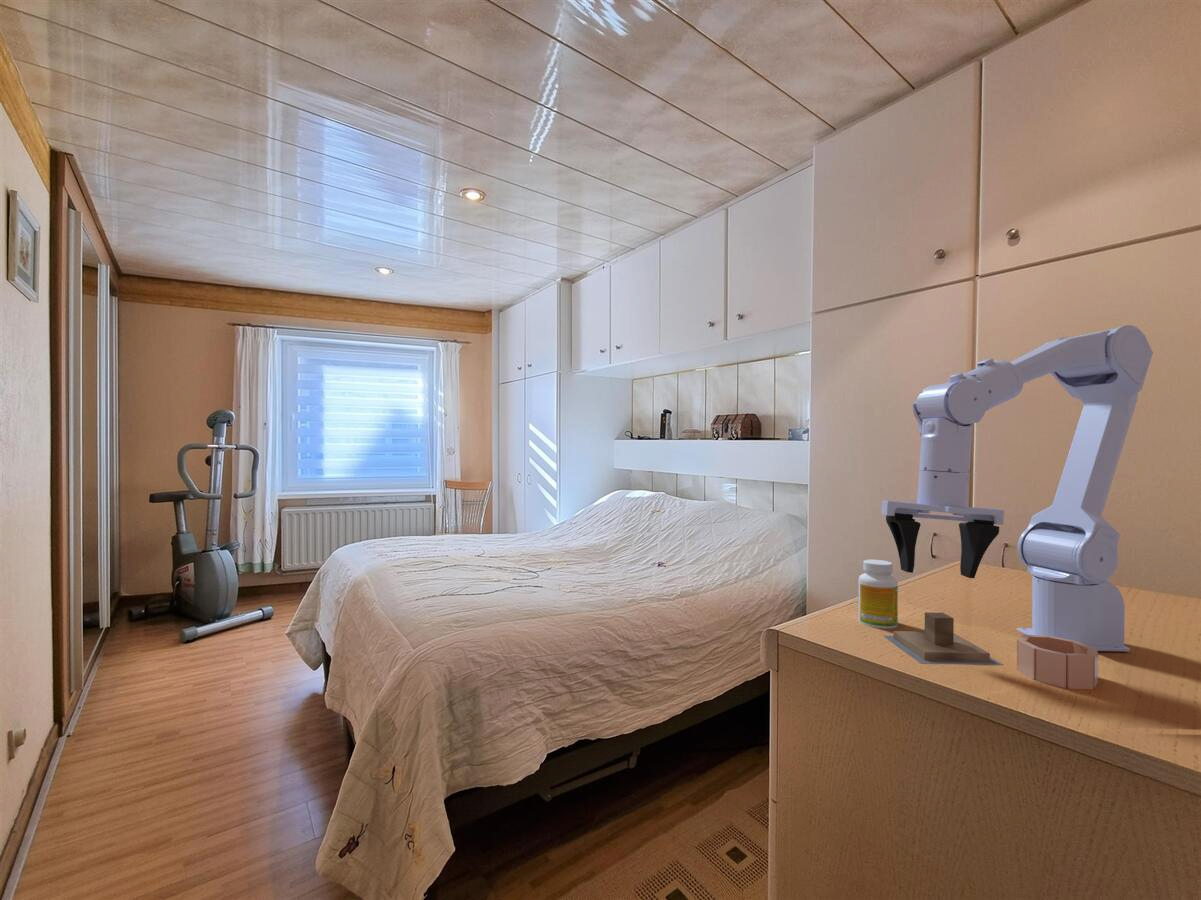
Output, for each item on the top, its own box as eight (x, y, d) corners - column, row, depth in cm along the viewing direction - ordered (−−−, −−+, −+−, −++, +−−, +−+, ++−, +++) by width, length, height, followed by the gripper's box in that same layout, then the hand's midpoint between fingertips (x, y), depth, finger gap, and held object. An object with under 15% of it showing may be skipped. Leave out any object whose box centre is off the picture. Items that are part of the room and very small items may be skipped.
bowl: (1063, 667, 68) (1063, 635, 68) (1113, 692, 61) (1113, 656, 61) (1004, 666, 68) (1005, 634, 68) (1048, 691, 61) (1048, 655, 61)
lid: (951, 639, 77) (951, 607, 77) (989, 661, 69) (989, 625, 69) (893, 638, 77) (893, 606, 77) (924, 660, 69) (924, 624, 69)
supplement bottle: (902, 632, 81) (903, 566, 81) (863, 629, 82) (863, 564, 82) (891, 620, 86) (891, 559, 86) (854, 618, 87) (854, 557, 87)
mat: (954, 639, 77) (954, 636, 77) (1003, 667, 68) (1003, 664, 68) (882, 638, 78) (882, 635, 78) (920, 666, 68) (920, 662, 68)
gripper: (899, 468, 70) (892, 574, 70) (1021, 477, 68) (1014, 586, 68) (877, 467, 77) (871, 564, 77) (988, 475, 75) (981, 574, 75)
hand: (937, 574), depth 73 cm, fingers open, 7 cm apart
